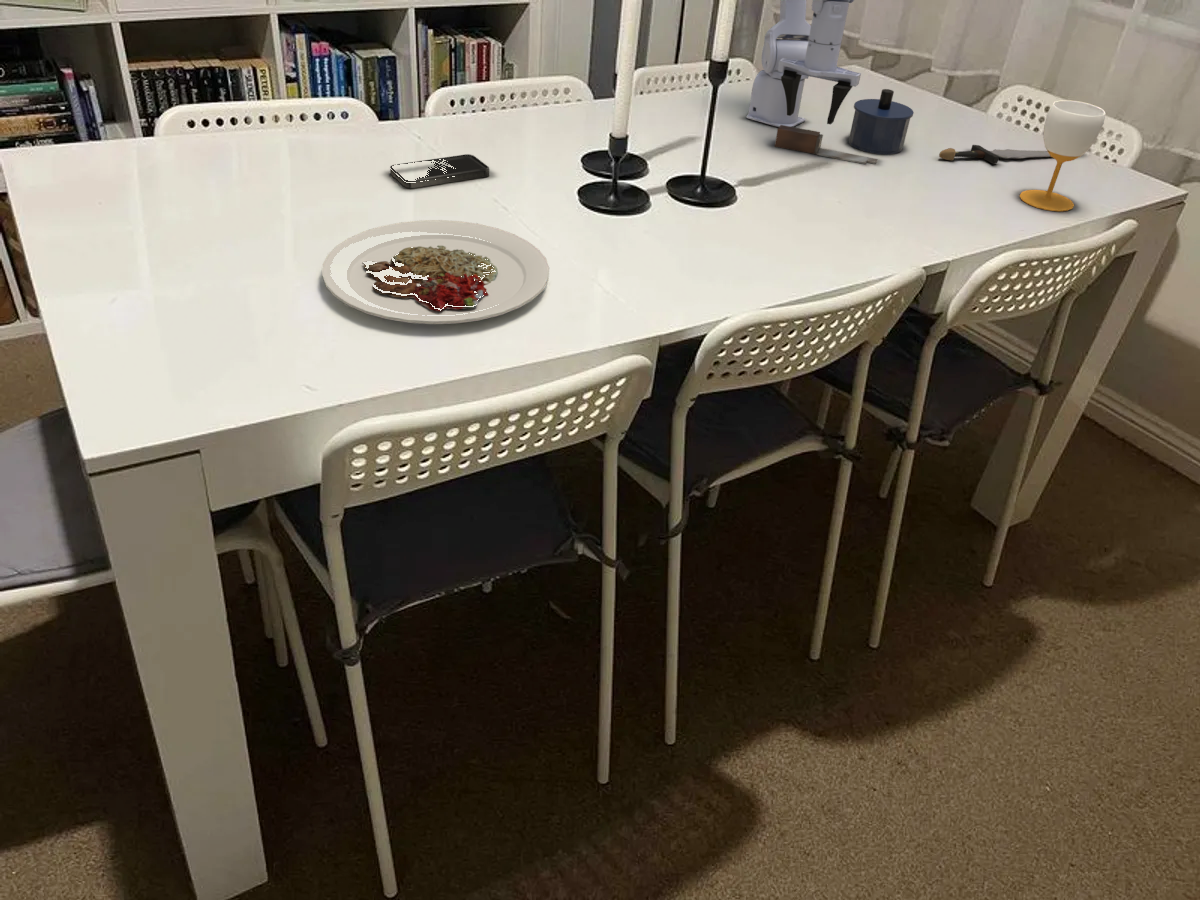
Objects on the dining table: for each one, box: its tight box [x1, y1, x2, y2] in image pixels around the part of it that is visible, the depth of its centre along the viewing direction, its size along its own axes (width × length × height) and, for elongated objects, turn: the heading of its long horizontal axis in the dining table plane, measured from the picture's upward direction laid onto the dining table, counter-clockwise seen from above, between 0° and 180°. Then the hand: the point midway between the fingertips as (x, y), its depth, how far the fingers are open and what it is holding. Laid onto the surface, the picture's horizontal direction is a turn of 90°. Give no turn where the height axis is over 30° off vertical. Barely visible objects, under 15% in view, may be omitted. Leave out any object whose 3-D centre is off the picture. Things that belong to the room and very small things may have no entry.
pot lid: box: [853, 88, 915, 120], centre depth 185 cm, size 11×11×4 cm
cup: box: [1019, 99, 1107, 212], centre depth 167 cm, size 9×9×16 cm
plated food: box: [321, 219, 550, 325], centre depth 132 cm, size 30×30×3 cm
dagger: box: [938, 144, 1052, 165], centre depth 188 cm, size 8×32×2 cm, turn 98°
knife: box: [774, 125, 878, 165], centre depth 182 cm, size 19×3×3 cm, turn 69°
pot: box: [848, 109, 911, 155], centre depth 188 cm, size 10×10×6 cm
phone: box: [389, 153, 490, 189], centre depth 163 cm, size 8×1×15 cm
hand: (810, 118), depth 181 cm, fingers open, 7 cm apart
